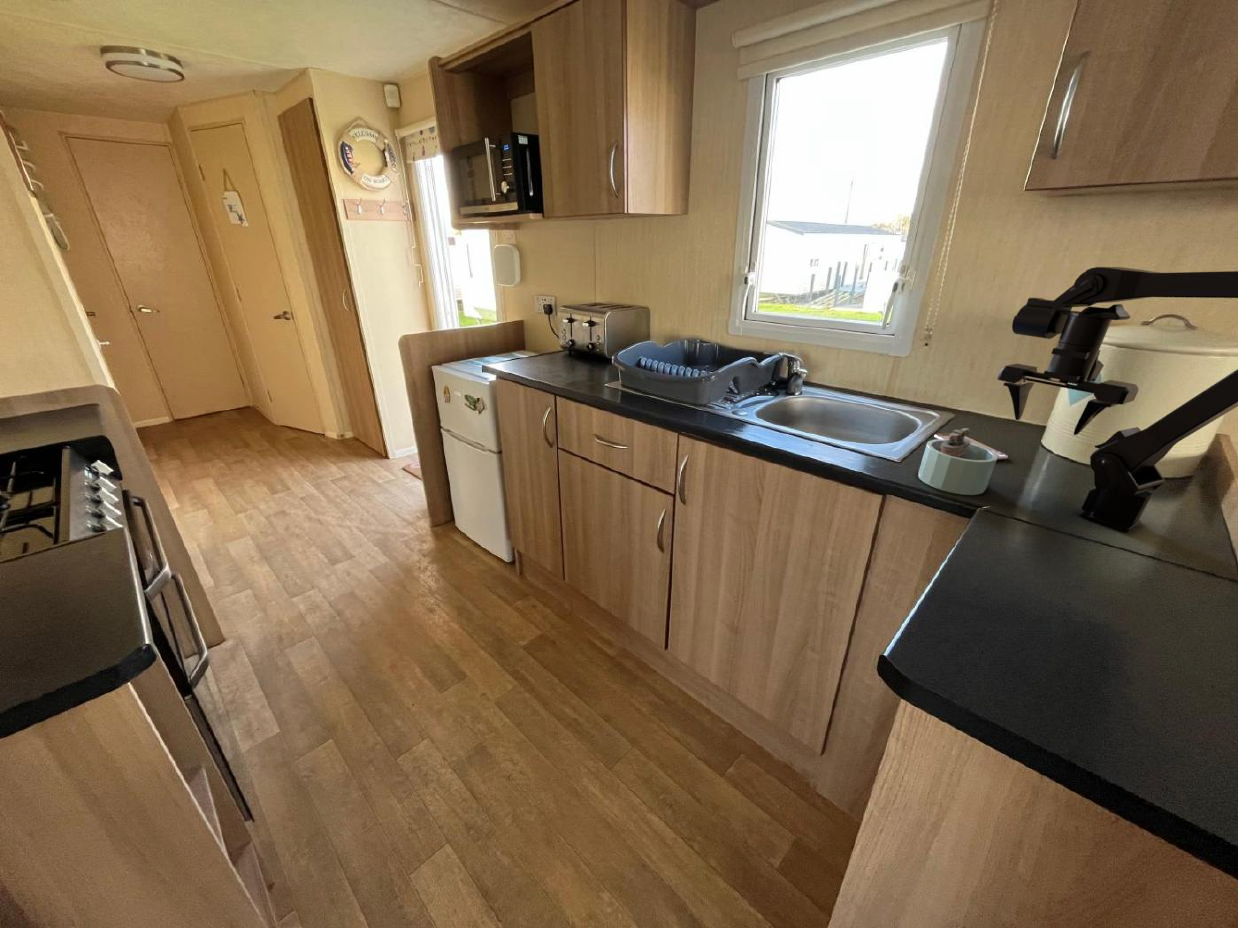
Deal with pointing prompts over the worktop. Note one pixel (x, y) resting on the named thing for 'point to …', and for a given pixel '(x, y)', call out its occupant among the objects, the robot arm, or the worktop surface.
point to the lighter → (956, 443)
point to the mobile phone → (999, 454)
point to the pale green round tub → (957, 469)
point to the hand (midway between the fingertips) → (1045, 426)
